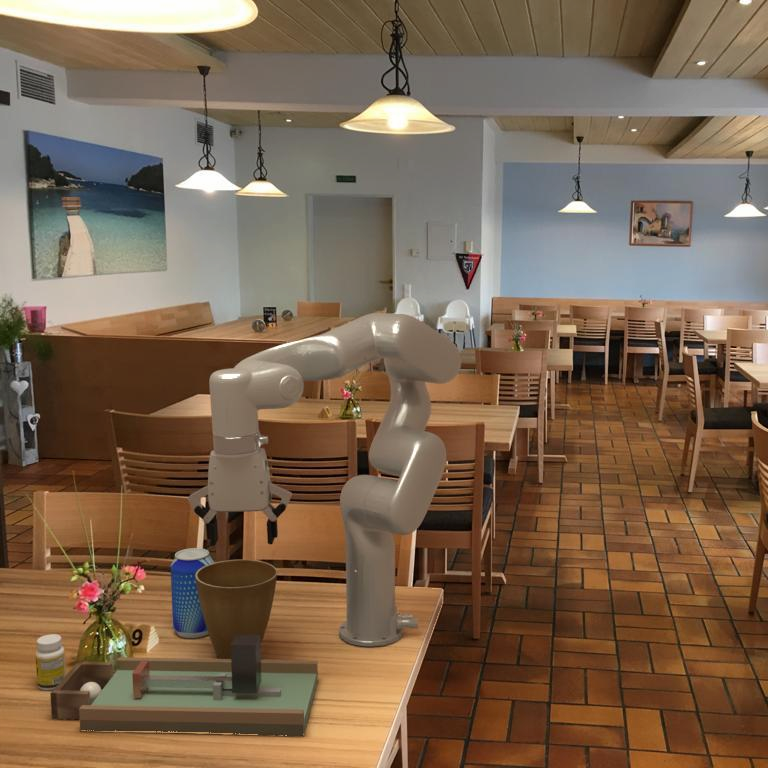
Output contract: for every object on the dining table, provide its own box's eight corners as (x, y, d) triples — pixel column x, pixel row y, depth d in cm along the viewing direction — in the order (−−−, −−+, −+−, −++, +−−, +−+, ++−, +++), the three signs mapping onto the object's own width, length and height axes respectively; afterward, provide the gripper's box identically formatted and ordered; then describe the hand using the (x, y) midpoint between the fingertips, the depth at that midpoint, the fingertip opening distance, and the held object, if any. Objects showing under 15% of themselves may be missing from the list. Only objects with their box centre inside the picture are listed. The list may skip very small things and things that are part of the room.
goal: (113, 686, 152) (112, 662, 151) (88, 720, 141) (87, 694, 140) (79, 686, 152) (78, 661, 152) (51, 719, 141) (50, 693, 140)
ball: (98, 701, 148) (108, 685, 148) (90, 712, 145) (100, 695, 144) (80, 690, 148) (90, 674, 148) (72, 700, 145) (82, 684, 144)
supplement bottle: (42, 678, 155) (39, 633, 154) (69, 677, 155) (67, 632, 154) (33, 692, 150) (30, 645, 149) (62, 690, 151) (59, 644, 149)
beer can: (221, 623, 178) (219, 547, 176) (209, 640, 170) (206, 561, 168) (181, 621, 179) (178, 545, 177) (167, 639, 171) (163, 560, 169)
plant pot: (216, 680, 154) (213, 593, 152) (186, 649, 166) (183, 567, 164) (292, 659, 162) (291, 576, 160) (259, 631, 174) (257, 553, 172)
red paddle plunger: (262, 686, 147) (260, 633, 146) (256, 700, 142) (254, 646, 141) (142, 683, 148) (140, 631, 147) (133, 697, 143) (130, 644, 142)
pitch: (317, 681, 153) (317, 656, 153) (303, 736, 136) (302, 708, 135) (120, 677, 155) (119, 652, 155) (80, 731, 137) (78, 704, 137)
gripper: (291, 437, 149) (296, 533, 152) (189, 440, 149) (196, 536, 152) (285, 447, 142) (291, 549, 144) (179, 450, 142) (186, 551, 145)
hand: (242, 542), depth 148 cm, fingers open, 9 cm apart
